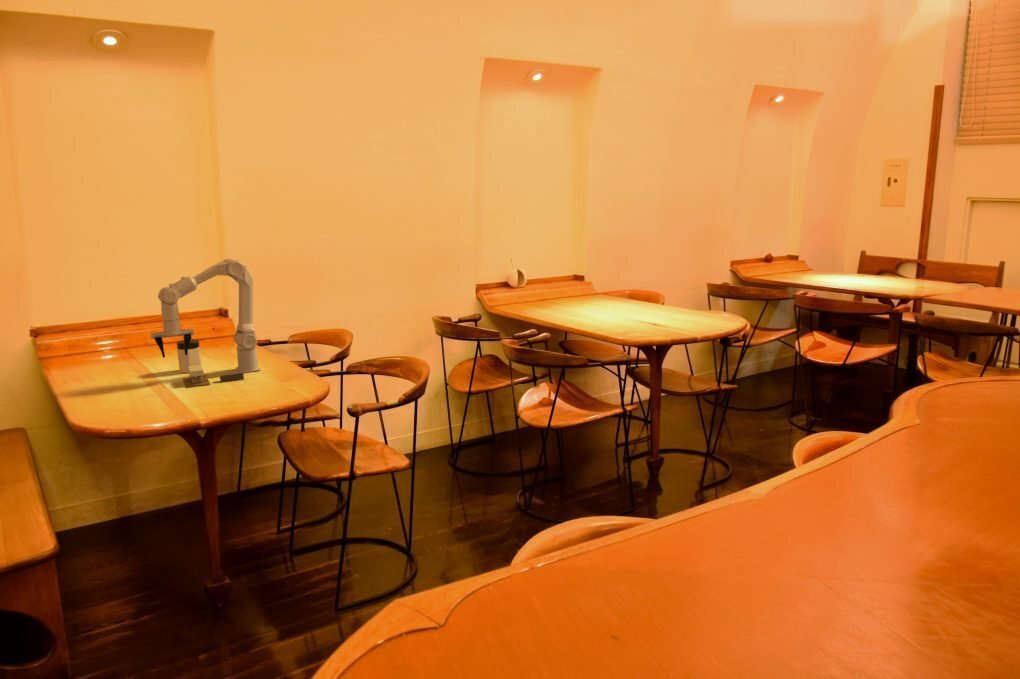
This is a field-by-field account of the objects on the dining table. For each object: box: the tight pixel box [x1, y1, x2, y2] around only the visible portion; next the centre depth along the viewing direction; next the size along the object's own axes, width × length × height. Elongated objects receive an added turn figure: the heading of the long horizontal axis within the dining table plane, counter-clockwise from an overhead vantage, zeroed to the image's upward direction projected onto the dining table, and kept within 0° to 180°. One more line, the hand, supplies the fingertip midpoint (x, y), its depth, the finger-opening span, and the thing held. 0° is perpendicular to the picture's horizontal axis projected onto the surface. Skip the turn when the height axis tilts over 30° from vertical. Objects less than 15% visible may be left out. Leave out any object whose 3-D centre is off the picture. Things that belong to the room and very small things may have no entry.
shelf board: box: [187, 364, 205, 378], centre depth 274 cm, size 10×4×2 cm, turn 29°
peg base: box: [182, 375, 211, 389], centre depth 274 cm, size 14×8×3 cm, turn 29°
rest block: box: [219, 371, 245, 383], centre depth 276 cm, size 3×8×2 cm, turn 119°
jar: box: [176, 338, 203, 374], centre depth 291 cm, size 9×8×12 cm
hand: (175, 355), depth 274 cm, fingers open, 7 cm apart
